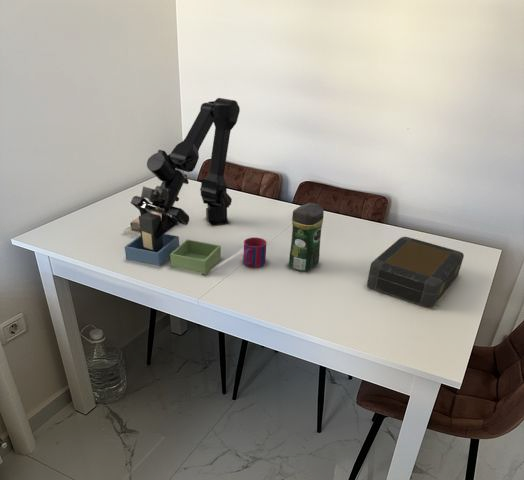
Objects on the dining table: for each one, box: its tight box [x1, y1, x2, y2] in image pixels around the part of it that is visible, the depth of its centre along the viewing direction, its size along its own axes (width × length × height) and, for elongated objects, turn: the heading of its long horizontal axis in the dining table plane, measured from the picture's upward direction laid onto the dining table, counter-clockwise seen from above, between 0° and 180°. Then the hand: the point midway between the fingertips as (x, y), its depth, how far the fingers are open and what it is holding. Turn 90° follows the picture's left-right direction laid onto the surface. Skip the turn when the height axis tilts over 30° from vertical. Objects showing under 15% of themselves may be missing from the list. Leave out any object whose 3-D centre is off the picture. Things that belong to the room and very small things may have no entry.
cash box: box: [366, 236, 465, 308], centre depth 143 cm, size 25×20×8 cm
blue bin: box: [124, 233, 180, 267], centre depth 152 cm, size 13×11×5 cm
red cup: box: [242, 237, 267, 269], centre depth 148 cm, size 7×10×7 cm
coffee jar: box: [288, 202, 325, 272], centre depth 146 cm, size 10×8×19 cm
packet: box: [138, 212, 163, 252], centre depth 149 cm, size 4×5×12 cm
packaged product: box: [123, 211, 179, 238], centre depth 167 cm, size 18×5×10 cm
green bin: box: [169, 239, 222, 276], centre depth 148 cm, size 11×11×5 cm
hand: (148, 235), depth 148 cm, fingers open, 6 cm apart
